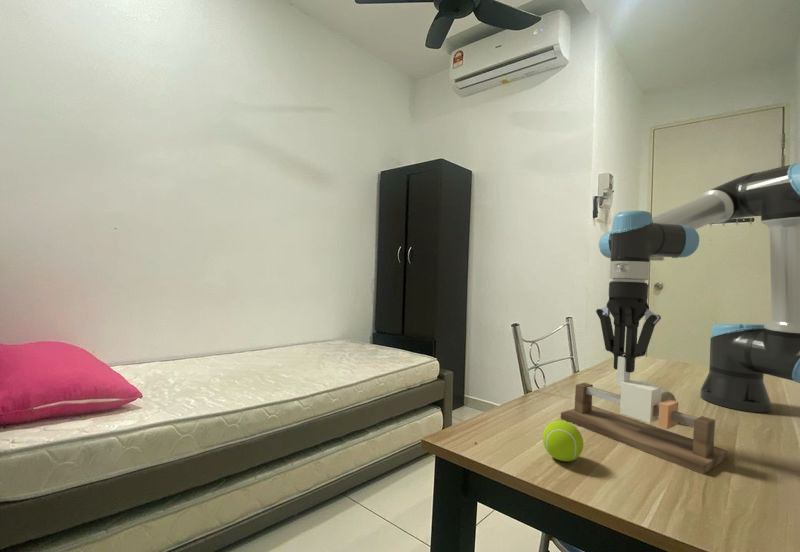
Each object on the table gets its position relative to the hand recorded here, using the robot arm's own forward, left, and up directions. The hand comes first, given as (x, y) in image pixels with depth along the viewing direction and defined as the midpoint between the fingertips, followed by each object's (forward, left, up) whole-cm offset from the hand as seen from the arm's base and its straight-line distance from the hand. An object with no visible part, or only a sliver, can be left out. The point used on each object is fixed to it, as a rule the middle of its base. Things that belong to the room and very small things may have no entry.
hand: (622, 385), depth 84 cm
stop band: (0, +9, -6) cm, 11 cm away
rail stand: (0, +3, -10) cm, 11 cm away
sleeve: (0, +4, -6) cm, 7 cm away
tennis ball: (+24, +1, -11) cm, 26 cm away
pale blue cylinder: (-20, -1, -11) cm, 23 cm away
